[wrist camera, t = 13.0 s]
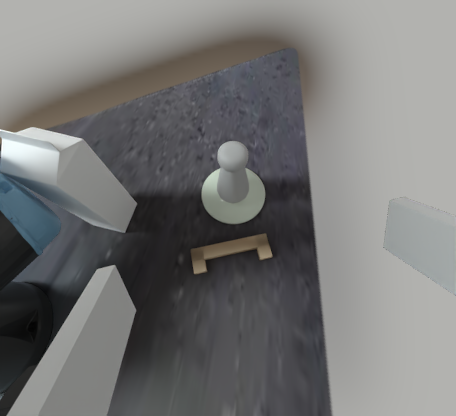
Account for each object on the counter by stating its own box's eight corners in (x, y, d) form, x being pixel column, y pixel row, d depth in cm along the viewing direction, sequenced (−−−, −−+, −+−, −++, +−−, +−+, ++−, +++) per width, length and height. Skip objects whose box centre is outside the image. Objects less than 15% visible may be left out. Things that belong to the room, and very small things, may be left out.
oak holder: (271, 257, 37) (272, 256, 36) (195, 274, 37) (194, 273, 35) (264, 235, 39) (265, 233, 38) (191, 251, 38) (190, 249, 37)
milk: (107, 196, 42) (7, 102, 21) (138, 203, 42) (66, 116, 21) (92, 226, 40) (-35, 152, 19) (125, 234, 39) (31, 168, 19)
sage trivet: (189, 203, 42) (188, 201, 41) (224, 158, 45) (224, 156, 45) (243, 236, 39) (243, 235, 38) (276, 185, 43) (276, 184, 42)
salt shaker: (251, 183, 42) (258, 137, 30) (244, 210, 40) (250, 173, 28) (221, 177, 43) (217, 130, 31) (213, 203, 41) (206, 164, 29)
